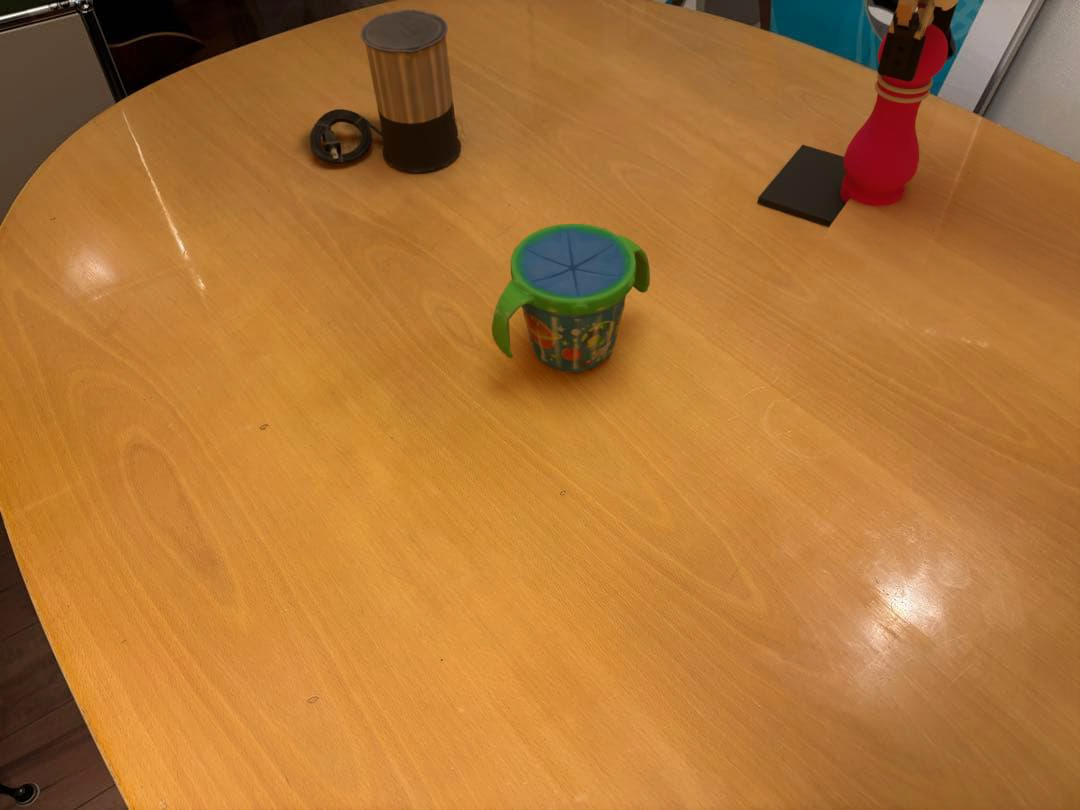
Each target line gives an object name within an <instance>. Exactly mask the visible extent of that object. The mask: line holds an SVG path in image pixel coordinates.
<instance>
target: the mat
mask: <svg viewBox="0 0 1080 810" xmlns="http://www.w3.org/2000/svg"><path fill="white" fill-rule="evenodd" d="M846 174H847V172H846V171H845V168H844V156H843V155H839V154H837V153H833V152H829V151H826V150H822V149H819V148H816V147H812V146H809V145H805V144H802V145H801V146H800V147H798V149H797V150H796V152H795V153H794V154H793V155H792V157H791V158H790V159H789V160H788V161H787V163H786V164H784V165H783V166H782V168H781V169H780V171H779V172H778V173H777V175H776V176H775V177H774V178H773V179H772V180H771V182H770V183H769V184H768V185H767V186H766V188H765V189H764V190H763V191H762V193H760V194H759V196H758V197H757V204H758V205H762V206H765V207H768V208H771V209H773V210H777V211H780V212H783V213H786V214H789V215H792V216H794V217H797V218H801V219H804V220H807V221H810V222H813V223H816V224H818V225H822V226H825V227H828V228H830V227H831V225H832V224H833V223H834V222H835V220H836V219H837V217H838V216H839V214H840V213H841V211H842V210H843V209H844V208H845V206H846V204H847V203H846V204H845V203H844V202H843V200H842V198H841V196H840V190H841V186H842V182H843V179H844V176H845V175H846Z"/></svg>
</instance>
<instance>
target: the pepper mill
mask: <svg viewBox="0 0 1080 810" xmlns="http://www.w3.org/2000/svg"><path fill="white" fill-rule="evenodd" d="M924 10H925V9H923V8H920V9H918V8H917V9H916V11H915V13H918V14H919V18H920V19H921V17H922V15H923V12H924ZM933 18H934V14H933V13H932V15H931V18H930V20H929V22H928V25H927V27H926V29H925V32H924V34H923V36H927V38H926V41H925V44H924V48H923V51H922V54H921V58H920V61H919V64H918V68H917V71H916V74H915V77H914V78H913V80H912V81H910V82H907V81H903V80H899V79H895V78H891V77H887V76H883V75H880V74H878V73H877V75H876V81H875V83H874V89H875V91H876V93H877V96H876V101H875V104H874V107H873V109H872V112H871V113H870V115H869V117H868V118H867V119H866V121H865V122H864V124H863V125H862V126H861V127H860V128H859V129H858V131H857V132H856V133H855V134H854V136H853V137H852V139H851V140H850V142H849V144H848V145H847V148H846V150H845V153H844V156H843V157H844V168H845V171H846V172H847V174H846V175H845V176H844V179H843V182H842V186H841V190H840V196H841V198H842V200H843V202H844V203H845V204H847V203H848V202H849V200H850V199H851V200H853V201H855V202H856V203H859V204H863V205H865V206H872V207H886V206H887V207H888V206H890V205H894V204H896V203H898V202H900V200H901V199H902V198H903V196H904V194H905V192H906V184H908V183H909V182H910V181H912V179H913V177H915V175H916V173H917V171H918V166H919V162H920V145H919V140H918V137H917V130H916V122H917V118H918V117H917V116H918V112H919V110H920V106H921V105H922V101H923V100H925V99H927V98H928V97H929V95H930V93H931V90H930V89H931V87H932V86H933V84H934V80H933V78H934V77H935V76H936V75H938V73H940V72H941V71H942V69H943V67H944V66H945V64H946V61H947V58H948V54H949V44H948V39H947V37H946V36H945V35H944V33H943V32H942V31H941V30H940V29H939V28H938V27H936V26H935V25H933V24H931V23H932V21H933ZM920 19H919V22H920ZM886 36H887V33H886V34H885V36H884V37H883V39H882V40H881V42H880V44H879V47H878V51H877V62H878V63H879V62H880V59H881V55H882V51H883V47H884V44H885V40H886Z"/></svg>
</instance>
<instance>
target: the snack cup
mask: <svg viewBox="0 0 1080 810" xmlns="http://www.w3.org/2000/svg"><path fill="white" fill-rule="evenodd" d="M510 276H511V279H510V281H509V283H508V284H507V285H506V286H505V288H504V290H503V291H502V292H501V295H500V296H499V298H498V299H497V303H496V306H495V308H494V312H493V317H492V324H491V335H492V338H493V340H494V341H493V342H495V344H496V345H497V347H498V349H499V350H500V351H501V353H503V354H504V355H505V357H506V358H508V359H513V357H514V356H513V353H512V351H511V337H510V334H511V333H510V319H511V318H512V317H513V316H514V314H515V313H516V312H517V311H518V310H519V309H520V308H522V312H523V313H522V314H523V317H524V321H525V325H526V328H527V332H528V336H529V342H530V344H531V347H532V349H533V352H534V354H535V356H536V358H537V360H538V362H540V363H541V364H543V365H546V366H548V367H550V368H552V369H554V370H557V371H561V372H564V373H567V372H569V373H572V374H575V375H577V374H581V373H582V374H583V373H584V372H585V371H588V370H593V369H595V368H597V367H598V366H600V365H601V364H603V363H604V362H605V361H606V360H607V359H609V358H610V357H611V356H612V354H613V349H614V347H615V345H616V342H617V339H618V338H617V337H618V333H619V330H620V327H621V322H622V319H623V314H624V310H625V306H626V305H625V304H626V303H625V302H626V297H627V295H628V294H629V293H630V292H631V291H632V289H633V288H634V289H635V290H637V292H640V293H642V294H643V293H647V291H648V290H649V287H650V284H651V283H650V282H651V269H650V263H649V258H648V256H647V253H646V251H644V250H643V248H642V247H641V246H639V245H638V243H636V242H634V241H633V240H632V239H629V237H626V236H624V235H622V234H621V235H620V234H617V233H614V232H612V231H610V230H609V229H607V228H604V227H600V226H597V225H592V224H586V223H562V224H561V223H560V224H555V225H550V226H546V227H544V228H541V229H537V230H536V231H534V232H532V233H530V234H529V235H527V236H526V237H524V239H522V240H520V242H518V244H517V245H516V246H515V248H514V249H513V252H512V255H511V257H510Z"/></svg>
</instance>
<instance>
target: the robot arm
mask: <svg viewBox="0 0 1080 810" xmlns="http://www.w3.org/2000/svg"><path fill="white" fill-rule="evenodd" d="M959 1H960V0H898V2H897V7H896V8H895V11H894V13H893V15H892V19H891V22H890V24H889V26H888V30H887V33H886V34H887V36H886V35H885V36H886V40H885V44H884V47H883V51H882V55H881V59H880V62H878V67H877V71H876V72H877V75H878V74H880V75H883V76H887V77H891V78H895V79H899V80H903V81H907V82H910V81H912V80H913V78H914V77H915V74H916V71H917V68H918V64H919V61H920V58H921V54H922V51H923V48H924V44H925V41H926V38H927V36H923V34H924V32H925V29H926V27H927V25H928V22H929V20H930V18H931V15H932V13H933V14H934V18H933V21H932V23H931V24H933V25H935V26H936V27H938V28H939V29H940V30H941V31H942V32H943V33H944V35H945V37H946V36H947V35H948V33H949V30H950V27H951V25H952V21H953V19H954V14H955V12H956V8H957V6H958V2H959ZM920 8H923V9H925V10H924V12H923V15H922V17H921V19H920V18H919V14H918V13H915V12H916V10H918V9H920ZM919 19H920V22H919Z"/></svg>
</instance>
